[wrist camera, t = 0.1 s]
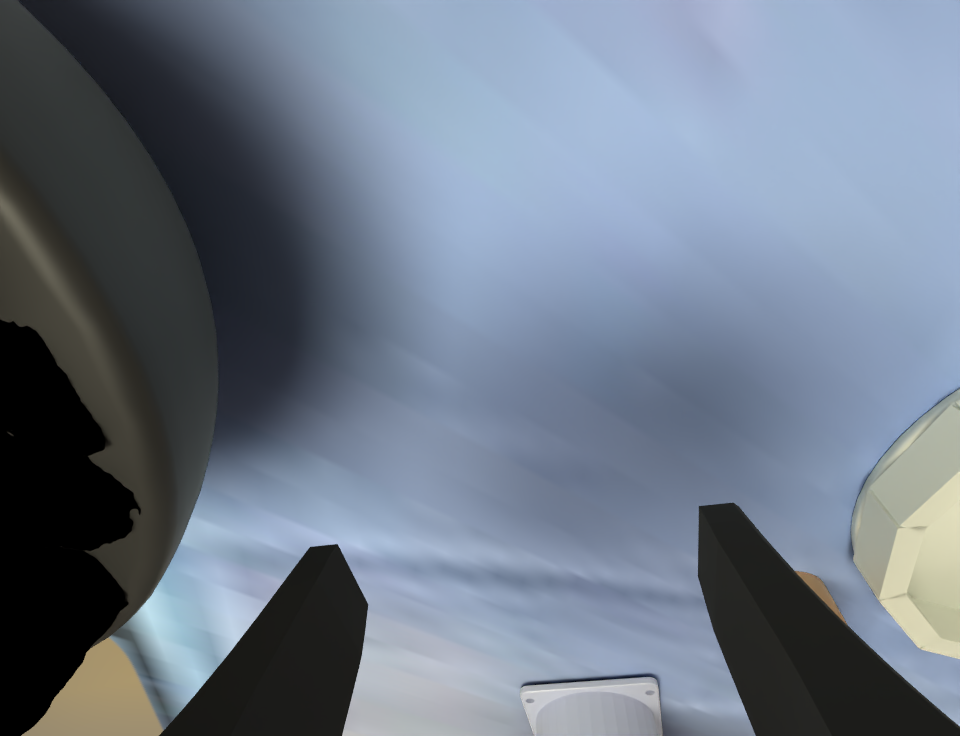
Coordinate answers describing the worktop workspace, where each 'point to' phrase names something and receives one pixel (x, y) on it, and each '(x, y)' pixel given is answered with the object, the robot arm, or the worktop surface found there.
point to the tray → (916, 530)
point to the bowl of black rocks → (88, 369)
